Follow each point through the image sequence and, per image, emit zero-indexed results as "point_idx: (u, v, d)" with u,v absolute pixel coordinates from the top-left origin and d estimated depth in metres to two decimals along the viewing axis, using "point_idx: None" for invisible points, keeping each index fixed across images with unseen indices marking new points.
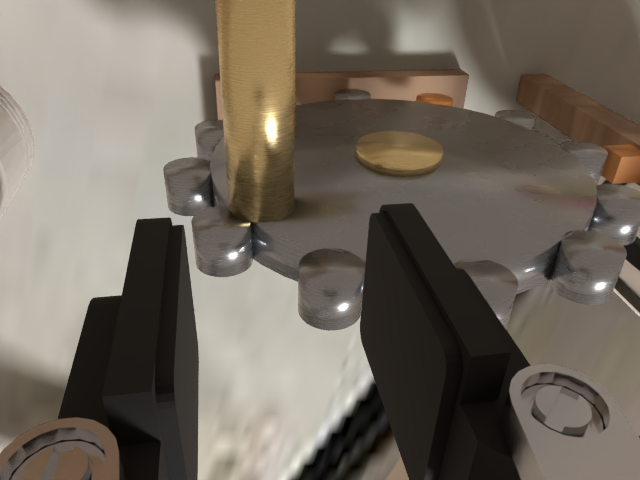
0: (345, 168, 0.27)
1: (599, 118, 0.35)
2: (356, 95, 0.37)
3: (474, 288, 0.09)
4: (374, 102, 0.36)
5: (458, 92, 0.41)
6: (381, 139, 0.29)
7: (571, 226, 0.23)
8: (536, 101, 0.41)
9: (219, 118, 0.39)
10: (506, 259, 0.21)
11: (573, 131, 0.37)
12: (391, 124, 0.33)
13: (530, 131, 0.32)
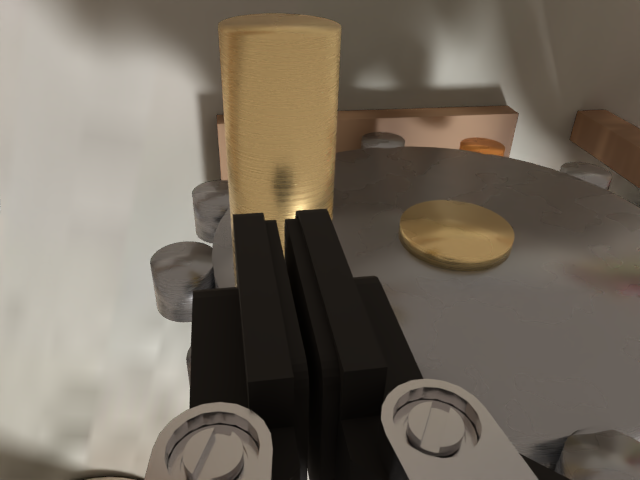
0: (388, 257, 0.21)
1: None
2: (388, 141, 0.31)
3: (383, 297, 0.09)
4: (411, 151, 0.30)
5: (505, 133, 0.34)
6: (431, 214, 0.23)
7: None
8: (598, 144, 0.34)
9: (222, 167, 0.32)
10: (637, 425, 0.15)
11: None
12: (436, 185, 0.26)
13: (610, 194, 0.26)
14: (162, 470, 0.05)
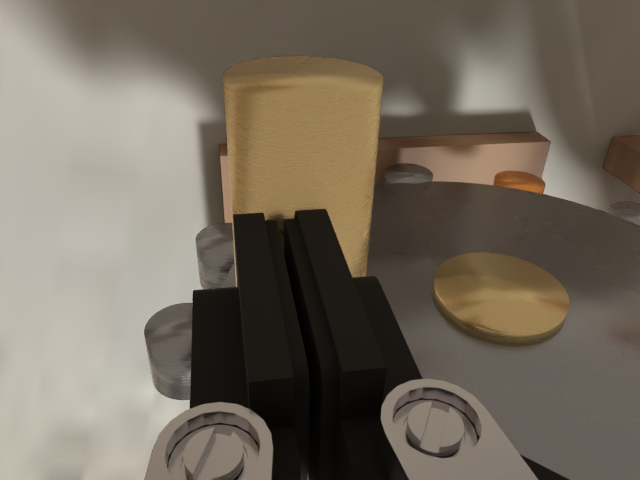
0: (422, 326, 0.18)
1: None
2: (414, 175, 0.28)
3: (382, 297, 0.09)
4: (440, 188, 0.27)
5: (535, 162, 0.31)
6: (470, 271, 0.20)
7: None
8: (637, 174, 0.31)
9: (225, 202, 0.29)
10: None
11: None
12: (472, 230, 0.23)
13: None
14: (162, 470, 0.05)
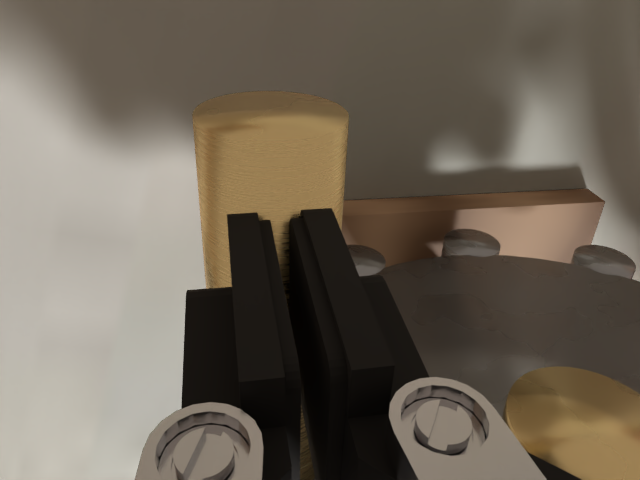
0: None
1: None
2: (609, 264, 0.23)
3: (388, 296, 0.09)
4: (630, 288, 0.22)
5: (587, 224, 0.28)
6: (569, 389, 0.16)
7: None
8: None
9: None
10: None
11: None
12: (628, 349, 0.19)
13: None
14: (152, 470, 0.05)
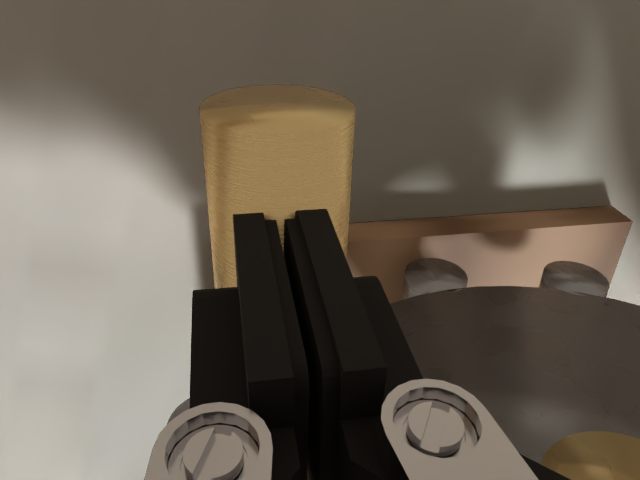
0: None
1: None
2: None
3: (383, 297, 0.09)
4: None
5: (612, 246, 0.25)
6: (627, 463, 0.14)
7: None
8: None
9: None
10: None
11: None
12: None
13: None
14: (162, 470, 0.05)
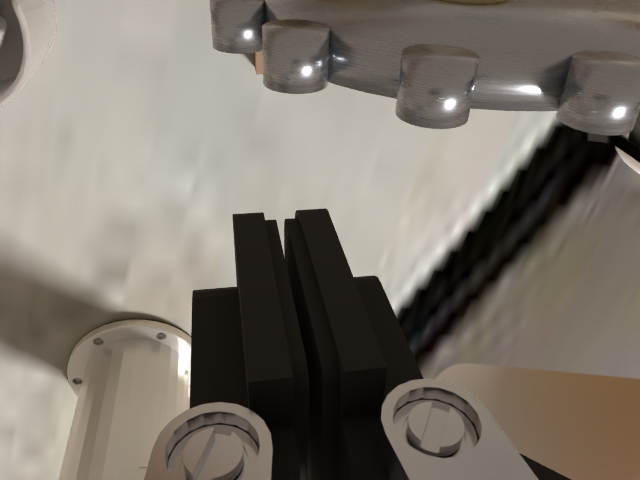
0: None
1: None
2: None
3: (383, 297, 0.09)
4: None
5: None
6: None
7: (465, 45, 0.18)
8: None
9: None
10: (346, 34, 0.20)
11: None
12: None
13: None
14: (162, 470, 0.05)
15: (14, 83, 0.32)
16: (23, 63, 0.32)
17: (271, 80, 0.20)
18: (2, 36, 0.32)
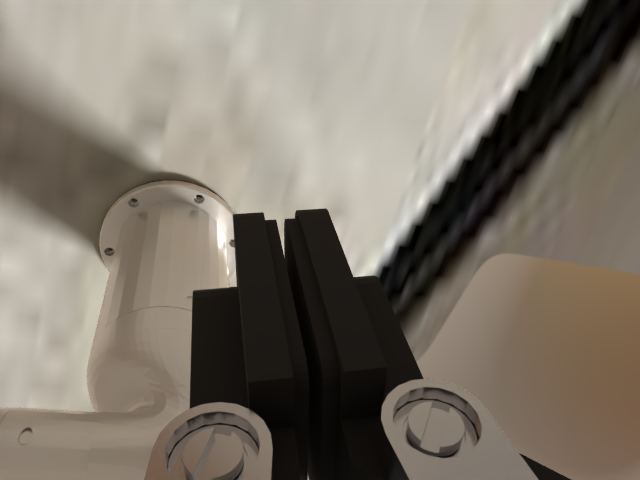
0: None
1: None
2: None
3: (383, 297, 0.09)
4: None
5: None
6: None
7: None
8: None
9: None
10: None
11: None
12: None
13: None
14: (162, 470, 0.05)
15: None
16: None
17: None
18: None
